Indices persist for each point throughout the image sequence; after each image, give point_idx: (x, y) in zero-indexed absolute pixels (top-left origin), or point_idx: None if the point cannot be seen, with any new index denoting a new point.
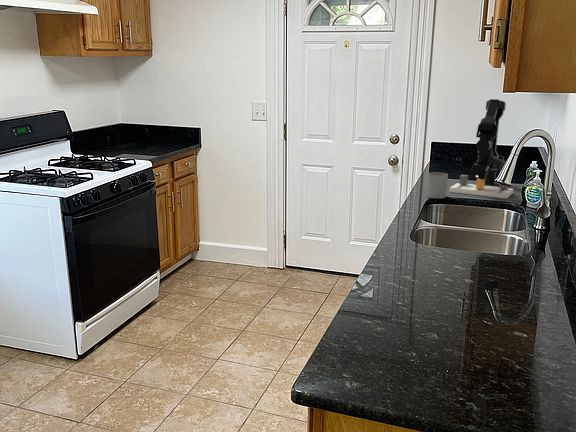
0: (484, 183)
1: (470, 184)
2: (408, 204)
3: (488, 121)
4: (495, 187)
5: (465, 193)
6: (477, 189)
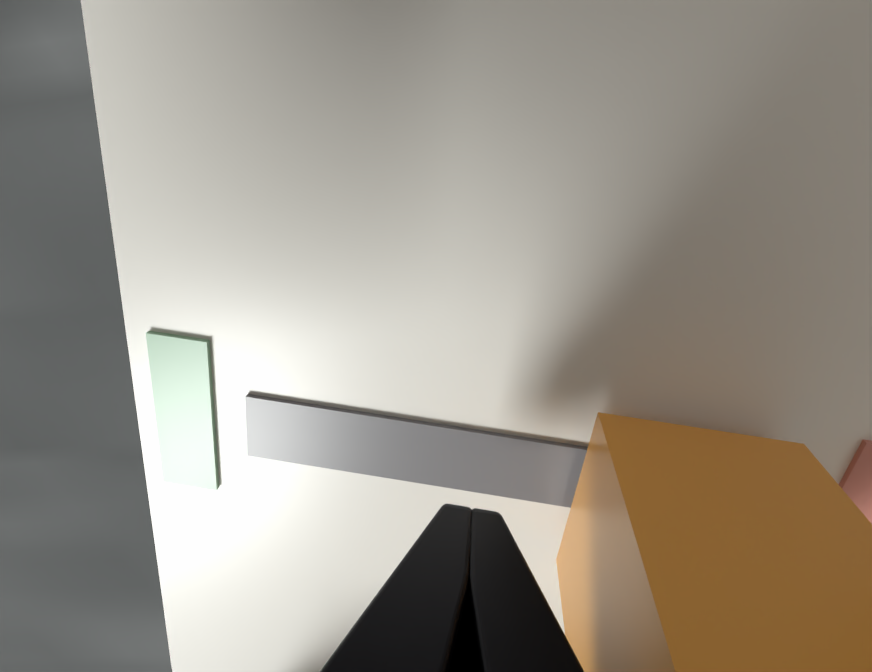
0: (678, 523)
1: (208, 658)
2: None
3: None
4: (206, 107)
5: None
6: None
